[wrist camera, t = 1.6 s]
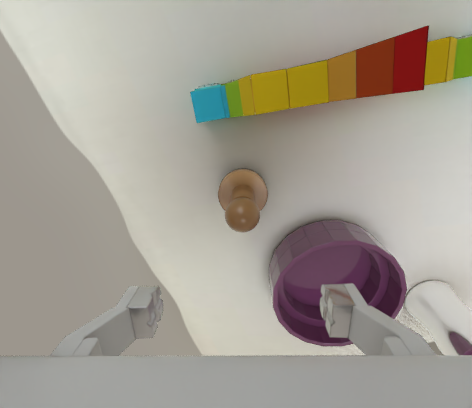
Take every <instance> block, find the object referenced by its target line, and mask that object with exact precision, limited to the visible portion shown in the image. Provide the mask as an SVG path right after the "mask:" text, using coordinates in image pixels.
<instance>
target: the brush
mask: <svg viewBox="0 0 472 408" xmlns="http://www.w3.org/2000/svg"><path fill="white" fill-rule="evenodd" d="M267 196H268V193H267V187H266V184H265V182H264V180H263V179H262V177H261V176H260V175H258V174H257V173H256V172H254V171H252V170H249V169H243V168H242V169H237V170H234V171H232V172H230V173H229V174H227V175H226V176H225V177H224V178H223V180H222V182H221V184H220V187H219V191H218V198H219V202H220V204H221V206H222V208H223V209H224V210H225V219H226V222H227V224H228V225H229V226H230V227H231V228H232V229H233V230H235V231H238V232H247V231H250V230H252V229H253V228H254V227H255V226H256V225H257V224H258V222H259V219H260V211H261V210H262V209H263V207H264V206H265V204H266V201H267Z"/></svg>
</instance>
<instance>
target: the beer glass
mask: <svg viewBox="0 0 472 408" xmlns="http://www.w3.org/2000/svg"><path fill="white" fill-rule="evenodd" d="M405 307H406V310H407V311H408V312H409V314H410V315H412V316H413V317H414V318H415V319H416V320H417V321H418V322H420V323H421V324H422V325H423V326H424V327H425V328H426V330H427V331H428V332H429V334H430V335H431V336H432V338H433V340H434V341H435V343H436V345H437V347H438V348H439V350H440V352H441V354H442V355H472V310H471V309H470V308H469V307H468V306H467V305H466V304H465V303H464V302H463V301H462V300H461V299H460V298H459V296H458V295H457V294H456V293H455V291H454V290H453V289H452V288H451V287H450V286H449V285H448V284H446V283H444V282H442V281H436V280H432V281H426V282H423V283H420V284H418V285H416V286H415V287H414V288H412V289H411V290H410V291H409V293H408V294H407V296H406V298H405Z"/></svg>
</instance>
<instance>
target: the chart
mask: <svg viewBox="0 0 472 408" xmlns="http://www.w3.org/2000/svg"><path fill="white" fill-rule="evenodd" d="M428 29H429V26H425V27H422V28H419V29H416V30H413V31H410V32H407V33H404V34H402V35H399V36H396V37H393V38H390V39H387V40H384V41H381V42H378V43H375V44H372V45H369V46H366V47H363V48H360V49H357V50H354V51H351V52H348V53H345V54H343V55H340V56H337V57H334V58H331V59H328V60H324V61H319V62H315V63H310V64H306V65H301V66H297V67H292V68H288V69H282V70H276V71H270V72H264V73H258V74H252V75H251V79H250V75H249V76H246V77H244V78H240V79H238V80H235V81H234V80H233V82H232V80H231V81H230V82H228V83H226V84H220V83H215V84H214V85H212V84H208V85H206V86H205V85H202V86H199V87H198V88H199V89H195V91H192V92H190V93H191V98H192V103H193V107H194V112H195V117H196V122H197V123H201V122H207V121H212V120H218V119H223V118H225V117H226V118H230V117H239V116H249V115H255V113H256V115H257V114H263V113H268V112H274V111H280V110H285V109H289V108H290V109H291V108H297V107H303V106H309V105H315V104H321V103H328V102H331V101H340V100H348V99H356V98H362V97H370V96H378V95H386V94H394V93H402V92H410V91H418V90H424V85H429V84H435V83H442V82H447V81H450V80H453V79H457V78H463V77H469V76H472V35H470V36H467V37H466V36H464V37H462V38H461V37H459V38H454V37H446V38H442V39H438V40H434V41H430V42H428Z"/></svg>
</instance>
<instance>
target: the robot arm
mask: <svg viewBox="0 0 472 408" xmlns="http://www.w3.org/2000/svg"><path fill="white" fill-rule="evenodd" d="M321 293H322V297H321V298H320V312H321V315H322V318H323V319H324V320H325V321H326V325H325V326H326V329H327V331H328V334H329V336H330V337H337V338H348V339H349V340H350V341H352V342H353V343H354V344H355V345H356V346H357V347H358V348H359V349H360V350H361V351H362V352H363V353H364V354H366V355H346V356H119V355H120V354H121V353H122V352H123V351H124V350H125V349H126V348H127V347H128V346H129V345H130V344H132V343H133V342H134V341H135V340H136V339H139V338H153V337H154V335H155V332H156V330H157V328H158V327H157V322H158V321H160V320H161V317H162V314H163V300H162V299H161V298H160V295H161V288H160V287H159V286H130V287H129V288H128V289H127V290H126V292H125V293H124V295H123V296H122V298H121V300H120V301H119V302H118V304H117V306H116V307H115V308H111V309H110V310H108V311H106V312H105V313H103V314H101V315H100V316H98V317H96V318H95V319H94V320H92V321H90V322H88V323H87V324H85V325H84V326H82V327H80V328H78V329H77V330H75V331H74V332H72V333H70V334H69V335H67V336H65V337H64V339H63V340H62V341H61V342H60V344H59V345H58V346H57V347H56V349H55V350H54V351H53V353H52V354H51V355H50V356H0V408H472V355H436V353H435V352H434V351H433V350H432V348H431V347H430V346H429V345H428V343H427V342H426V341H425V340H424V338H423V337H422V336H421V335H420V334H418V333H416V332H415V331H413V330H411V329H409V328H408V327H406V326H404V325H403V324H401V323H399V322H398V321H396V320H394V319H393V318H391V317H389V316H388V315H386V314H384V313H383V312H381V311H379V310H378V309H376V308H374V307H373V306H368V305H367V303H366V302H365V300H364V299H363V297H362V295H361V294H360V292H359V291H358V289H357V288H356V286H355V285H354V284H353V283H348V284H322V286H321Z"/></svg>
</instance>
